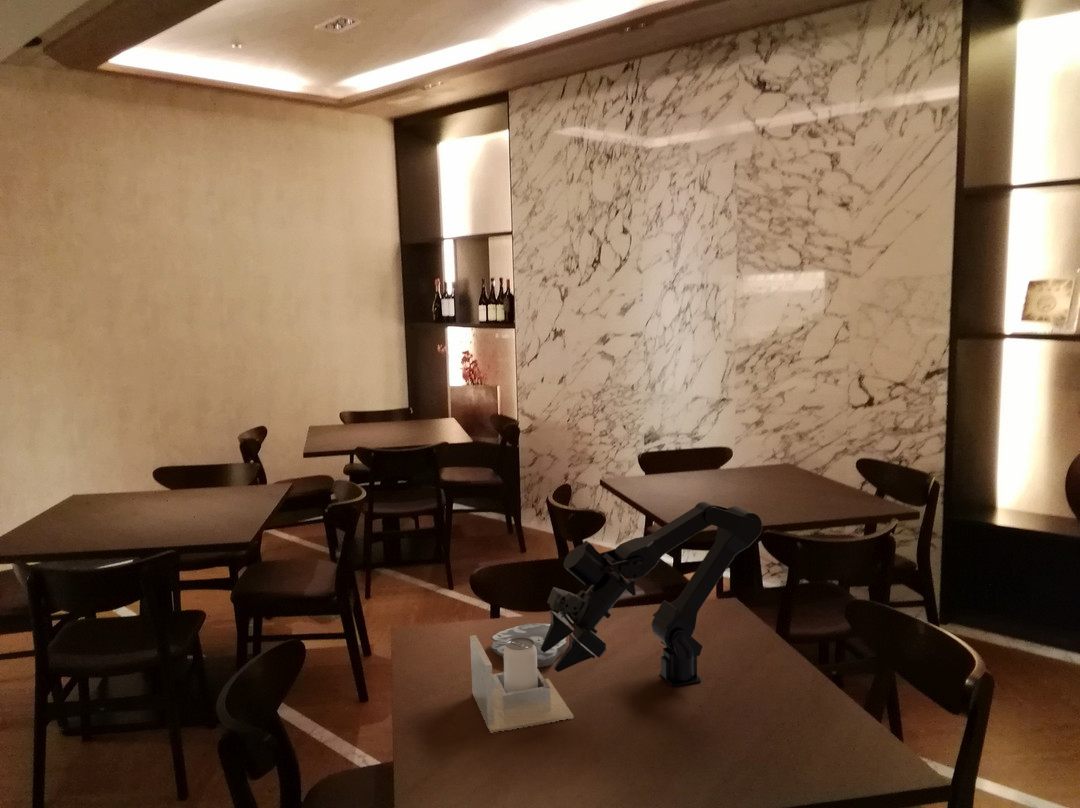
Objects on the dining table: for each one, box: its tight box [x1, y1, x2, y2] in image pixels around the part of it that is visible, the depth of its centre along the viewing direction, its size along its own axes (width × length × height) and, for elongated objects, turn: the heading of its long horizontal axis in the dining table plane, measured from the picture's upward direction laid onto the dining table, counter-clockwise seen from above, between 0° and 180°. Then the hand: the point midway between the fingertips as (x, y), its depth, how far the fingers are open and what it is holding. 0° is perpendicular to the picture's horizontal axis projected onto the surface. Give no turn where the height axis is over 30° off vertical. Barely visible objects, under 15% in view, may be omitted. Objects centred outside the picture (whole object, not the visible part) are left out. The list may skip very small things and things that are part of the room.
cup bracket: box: [469, 634, 575, 734], centre depth 155 cm, size 16×16×13 cm
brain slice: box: [490, 623, 567, 669], centre depth 179 cm, size 20×17×3 cm
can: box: [503, 637, 538, 693], centre depth 155 cm, size 6×6×12 cm
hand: (548, 660), depth 156 cm, fingers open, 9 cm apart
